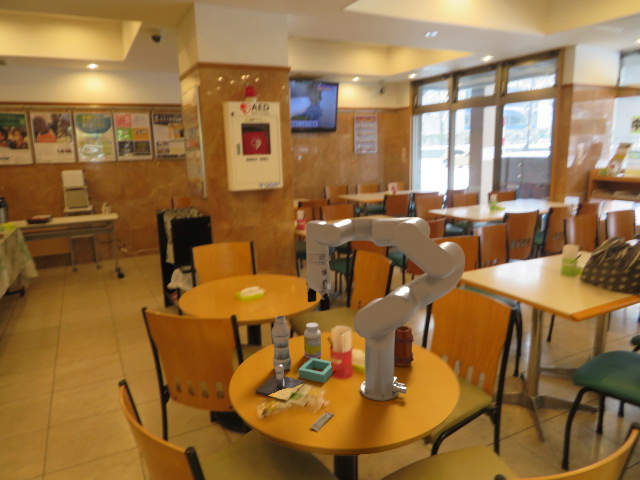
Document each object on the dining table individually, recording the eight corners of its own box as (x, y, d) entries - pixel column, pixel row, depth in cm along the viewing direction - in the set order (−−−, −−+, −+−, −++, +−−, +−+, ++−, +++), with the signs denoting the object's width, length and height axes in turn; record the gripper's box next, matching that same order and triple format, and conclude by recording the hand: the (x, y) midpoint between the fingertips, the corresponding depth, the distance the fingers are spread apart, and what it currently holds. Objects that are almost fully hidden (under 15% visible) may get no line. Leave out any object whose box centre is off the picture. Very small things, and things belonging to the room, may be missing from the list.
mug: (418, 363, 163) (419, 325, 160) (407, 371, 157) (408, 332, 154) (385, 352, 173) (385, 316, 170) (373, 359, 167) (373, 322, 164)
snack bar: (318, 431, 124) (309, 425, 126) (316, 435, 125) (308, 429, 126) (334, 413, 132) (326, 408, 134) (333, 417, 133) (325, 411, 134)
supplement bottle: (306, 351, 175) (305, 321, 173) (322, 352, 174) (321, 321, 172) (303, 359, 169) (302, 327, 166) (320, 359, 168) (319, 328, 165)
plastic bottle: (290, 372, 158) (288, 320, 154) (272, 373, 159) (269, 321, 155) (292, 364, 165) (290, 314, 161) (274, 364, 165) (271, 314, 161)
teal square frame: (335, 370, 160) (335, 362, 159) (324, 383, 151) (323, 375, 150) (311, 364, 164) (311, 357, 163) (298, 377, 155) (298, 369, 155)
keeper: (304, 383, 151) (303, 360, 149) (286, 401, 140) (285, 376, 139) (275, 376, 156) (273, 354, 154) (255, 393, 146) (254, 369, 144)
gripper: (340, 261, 141) (340, 311, 145) (315, 251, 156) (316, 296, 160) (319, 264, 138) (320, 315, 141) (296, 253, 153) (298, 300, 156)
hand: (318, 305), depth 151 cm, fingers open, 9 cm apart
